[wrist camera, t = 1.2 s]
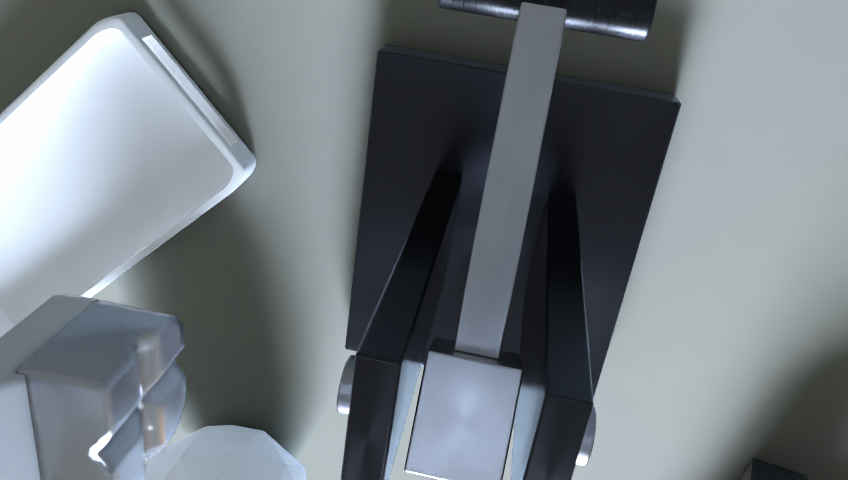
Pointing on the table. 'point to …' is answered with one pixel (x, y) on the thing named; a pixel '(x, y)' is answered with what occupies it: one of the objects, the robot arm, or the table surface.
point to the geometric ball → (224, 457)
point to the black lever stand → (454, 238)
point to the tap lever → (501, 245)
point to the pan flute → (768, 472)
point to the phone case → (105, 165)
